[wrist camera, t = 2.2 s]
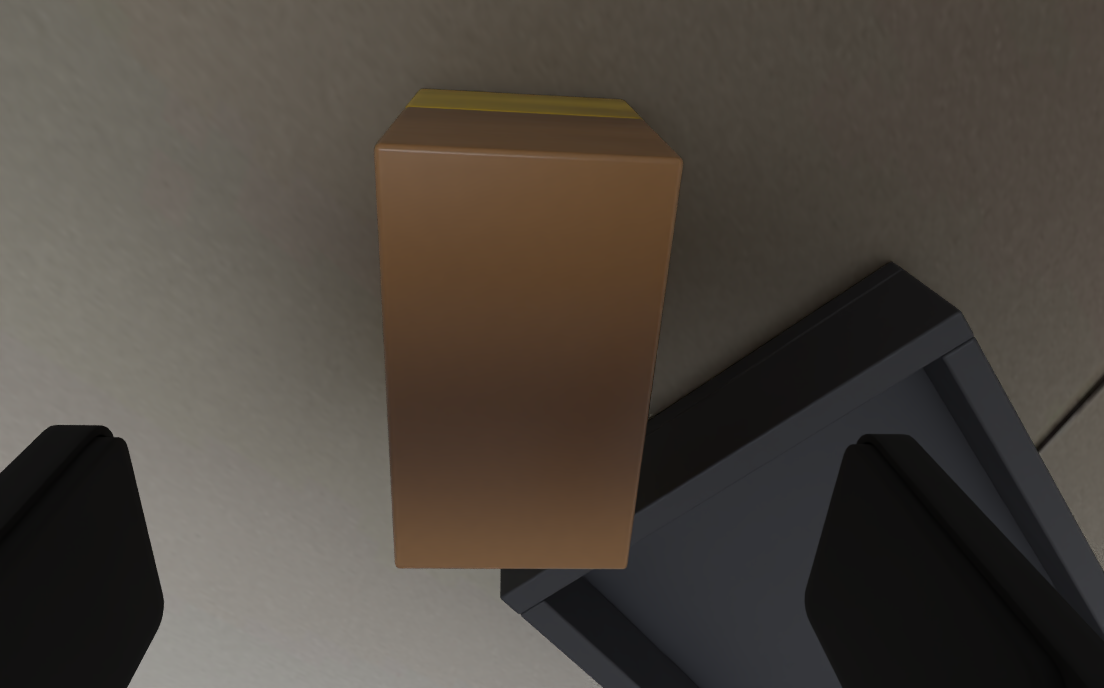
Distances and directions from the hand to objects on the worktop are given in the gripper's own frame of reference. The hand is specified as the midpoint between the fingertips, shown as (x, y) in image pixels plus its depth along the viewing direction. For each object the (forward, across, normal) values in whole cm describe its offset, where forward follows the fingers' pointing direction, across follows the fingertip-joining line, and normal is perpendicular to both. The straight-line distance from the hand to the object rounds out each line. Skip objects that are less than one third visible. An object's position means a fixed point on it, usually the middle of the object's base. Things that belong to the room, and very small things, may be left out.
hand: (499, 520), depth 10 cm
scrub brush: (+9, 0, 0) cm, 9 cm away
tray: (+9, -11, +11) cm, 18 cm away
